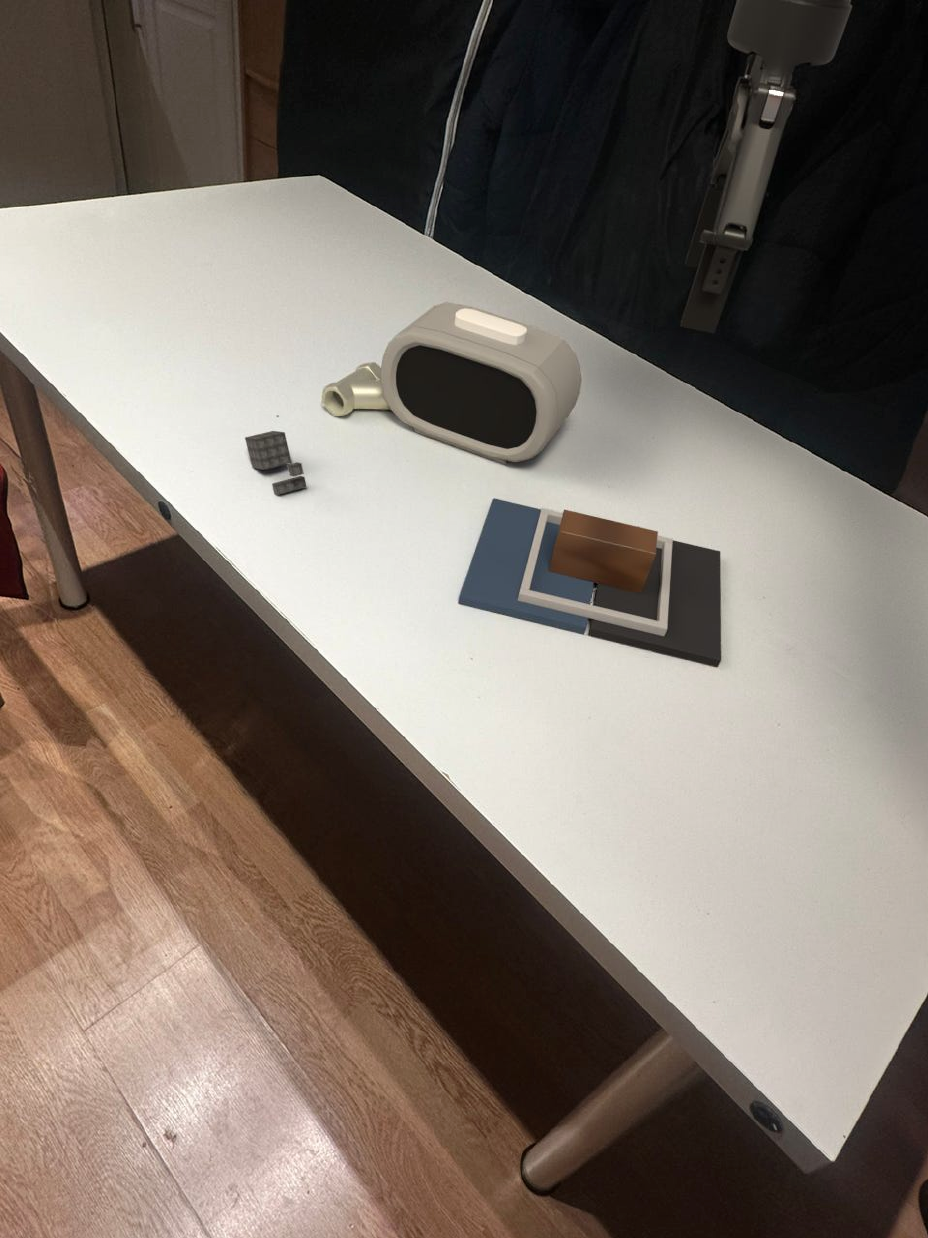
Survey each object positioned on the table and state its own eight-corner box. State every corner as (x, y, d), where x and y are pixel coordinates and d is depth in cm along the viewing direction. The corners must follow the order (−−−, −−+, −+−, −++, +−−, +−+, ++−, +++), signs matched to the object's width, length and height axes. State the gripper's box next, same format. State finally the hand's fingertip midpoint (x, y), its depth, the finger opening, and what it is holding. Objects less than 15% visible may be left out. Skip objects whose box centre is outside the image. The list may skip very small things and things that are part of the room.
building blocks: (273, 430, 87) (304, 434, 80) (285, 481, 89) (316, 489, 82) (244, 437, 85) (274, 442, 79) (257, 489, 87) (287, 497, 81)
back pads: (717, 558, 85) (723, 543, 83) (717, 667, 73) (725, 652, 72) (491, 505, 87) (494, 489, 85) (457, 604, 75) (460, 587, 74)
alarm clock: (375, 422, 95) (381, 310, 86) (413, 389, 102) (422, 281, 93) (538, 482, 91) (564, 370, 81) (567, 443, 97) (593, 335, 88)
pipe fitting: (406, 407, 99) (360, 384, 101) (411, 379, 96) (364, 355, 98) (368, 435, 94) (320, 410, 96) (371, 405, 91) (323, 380, 93)
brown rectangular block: (643, 571, 80) (658, 531, 77) (641, 594, 78) (656, 553, 74) (553, 549, 81) (564, 508, 78) (548, 571, 78) (559, 530, 75)
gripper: (740, -42, 64) (661, 237, 79) (750, -4, 46) (646, 348, 61) (836, -25, 64) (739, 253, 79) (883, 21, 46) (746, 370, 61)
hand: (698, 295), depth 70 cm, fingers open, 13 cm apart
